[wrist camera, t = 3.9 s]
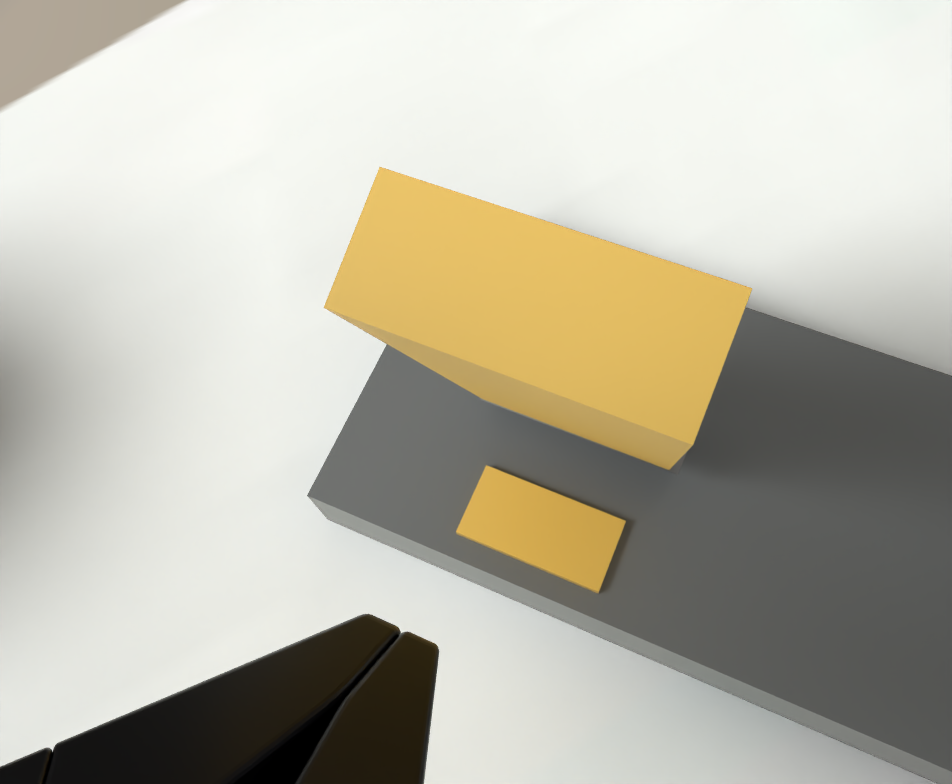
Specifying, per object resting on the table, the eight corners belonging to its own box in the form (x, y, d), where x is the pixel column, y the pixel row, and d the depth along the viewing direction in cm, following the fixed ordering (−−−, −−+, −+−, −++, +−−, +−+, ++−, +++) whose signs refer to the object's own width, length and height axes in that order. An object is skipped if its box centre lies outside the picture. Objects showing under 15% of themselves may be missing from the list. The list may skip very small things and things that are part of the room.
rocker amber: (675, 475, 19) (713, 452, 8) (487, 403, 19) (307, 301, 9) (702, 405, 19) (772, 295, 8) (512, 337, 20) (363, 161, 9)
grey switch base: (1335, 553, 19) (1428, 528, 17) (1304, 942, 16) (1412, 966, 14) (463, 254, 24) (456, 207, 22) (327, 519, 21) (304, 492, 19)
